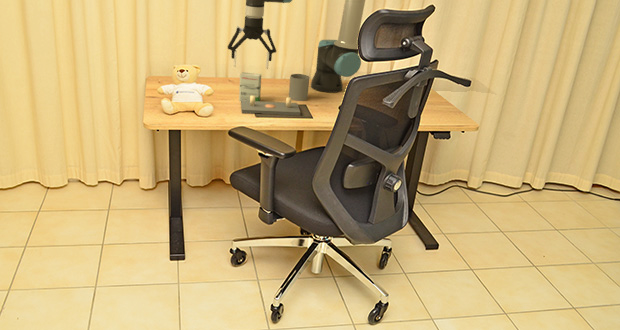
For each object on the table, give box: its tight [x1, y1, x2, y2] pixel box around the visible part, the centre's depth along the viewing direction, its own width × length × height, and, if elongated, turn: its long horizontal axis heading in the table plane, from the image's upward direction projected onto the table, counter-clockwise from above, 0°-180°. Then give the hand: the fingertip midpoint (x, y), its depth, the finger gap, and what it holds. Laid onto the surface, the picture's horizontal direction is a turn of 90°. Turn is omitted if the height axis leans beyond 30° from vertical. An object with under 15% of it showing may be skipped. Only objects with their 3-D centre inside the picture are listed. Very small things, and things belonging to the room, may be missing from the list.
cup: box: [288, 73, 310, 102], centre depth 268 cm, size 8×8×10 cm
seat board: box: [240, 96, 301, 117], centre depth 251 cm, size 24×12×6 cm, turn 98°
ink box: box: [238, 72, 262, 102], centre depth 258 cm, size 9×5×12 cm, turn 84°
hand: (250, 67), depth 255 cm, fingers open, 13 cm apart
